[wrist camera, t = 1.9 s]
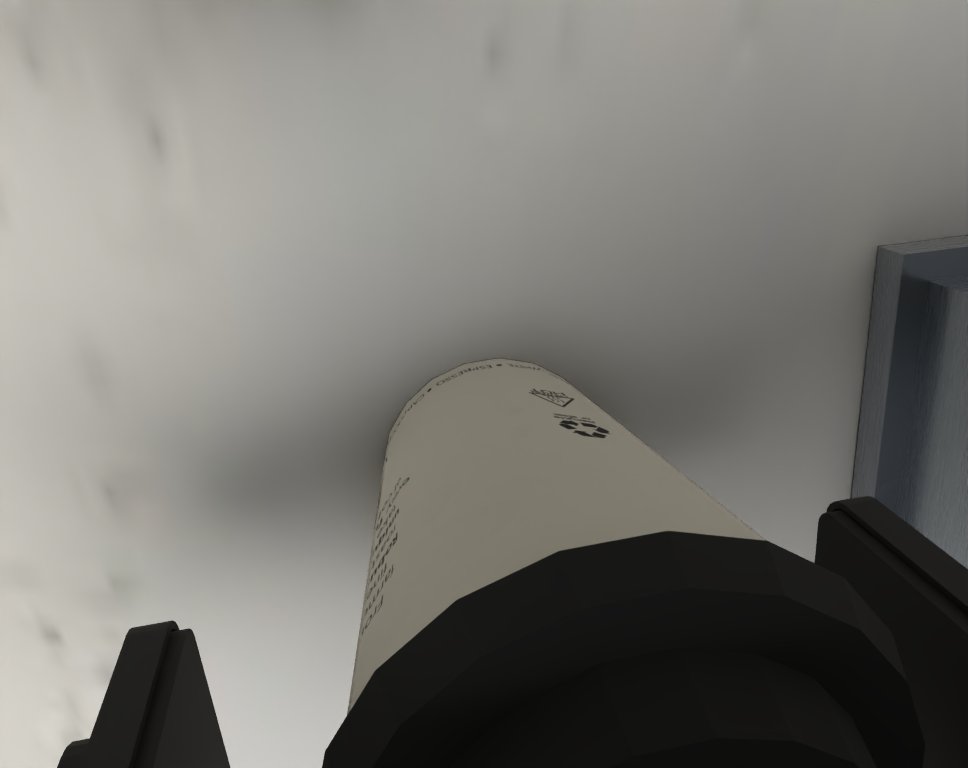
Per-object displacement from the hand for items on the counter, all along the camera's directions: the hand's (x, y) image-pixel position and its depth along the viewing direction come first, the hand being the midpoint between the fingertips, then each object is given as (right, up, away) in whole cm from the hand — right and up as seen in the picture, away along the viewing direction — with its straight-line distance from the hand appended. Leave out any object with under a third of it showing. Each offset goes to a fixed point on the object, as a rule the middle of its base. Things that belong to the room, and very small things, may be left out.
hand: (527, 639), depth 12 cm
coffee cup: (0, +2, +5) cm, 6 cm away
